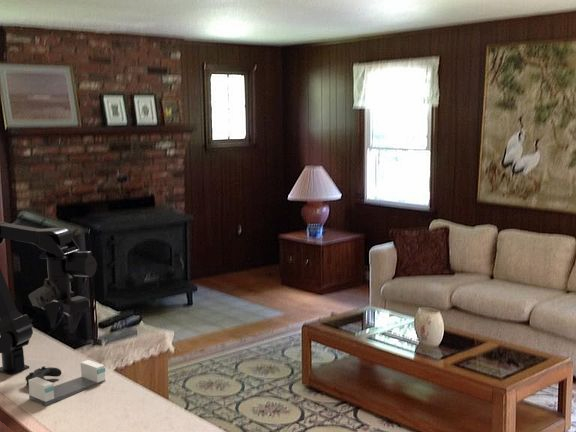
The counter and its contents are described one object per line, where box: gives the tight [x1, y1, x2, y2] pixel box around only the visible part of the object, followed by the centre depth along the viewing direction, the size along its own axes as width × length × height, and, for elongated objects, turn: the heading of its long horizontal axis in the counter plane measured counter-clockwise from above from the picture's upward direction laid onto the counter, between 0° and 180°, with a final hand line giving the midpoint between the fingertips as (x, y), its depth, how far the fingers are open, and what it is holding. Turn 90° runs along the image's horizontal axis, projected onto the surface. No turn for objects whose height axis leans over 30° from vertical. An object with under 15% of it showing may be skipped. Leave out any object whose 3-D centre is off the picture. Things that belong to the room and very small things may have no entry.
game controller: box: [24, 365, 62, 386], centre depth 186 cm, size 10×5×6 cm
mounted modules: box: [28, 359, 106, 402], centre depth 180 cm, size 7×18×4 cm, turn 142°
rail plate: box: [28, 376, 106, 406], centre depth 181 cm, size 7×18×1 cm, turn 142°
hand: (62, 330), depth 192 cm, fingers open, 9 cm apart
